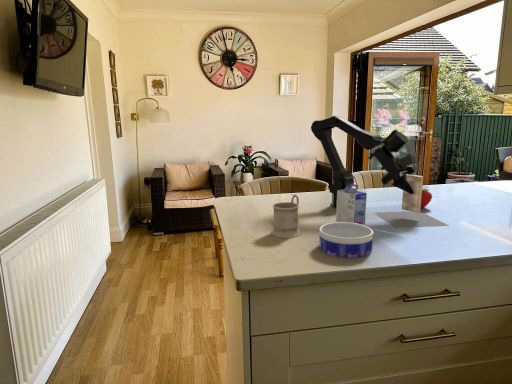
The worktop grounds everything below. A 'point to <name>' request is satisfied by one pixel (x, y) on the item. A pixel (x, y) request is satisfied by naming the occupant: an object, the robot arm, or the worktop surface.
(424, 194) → the strawberry
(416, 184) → the board
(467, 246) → the worktop surface
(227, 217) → the worktop surface
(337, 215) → the ink cartridge box
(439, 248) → the worktop surface
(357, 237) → the dog bowl
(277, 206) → the mug
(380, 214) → the mat
